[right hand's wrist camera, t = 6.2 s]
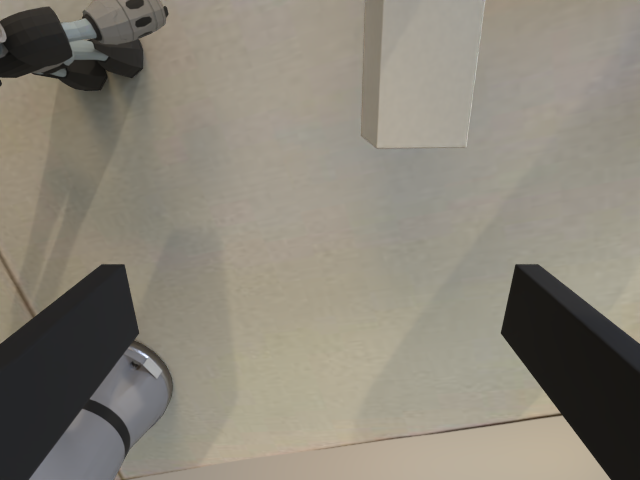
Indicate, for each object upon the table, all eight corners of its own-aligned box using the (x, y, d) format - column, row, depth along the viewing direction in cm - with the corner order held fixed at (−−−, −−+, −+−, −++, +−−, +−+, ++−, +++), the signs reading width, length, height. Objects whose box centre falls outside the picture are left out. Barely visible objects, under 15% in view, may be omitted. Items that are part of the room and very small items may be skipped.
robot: (32, 120, 38) (-239, 142, 19) (2, 70, 36) (-326, 42, 18) (208, 52, 36) (95, 3, 17) (185, -4, 34) (35, -123, 16)
